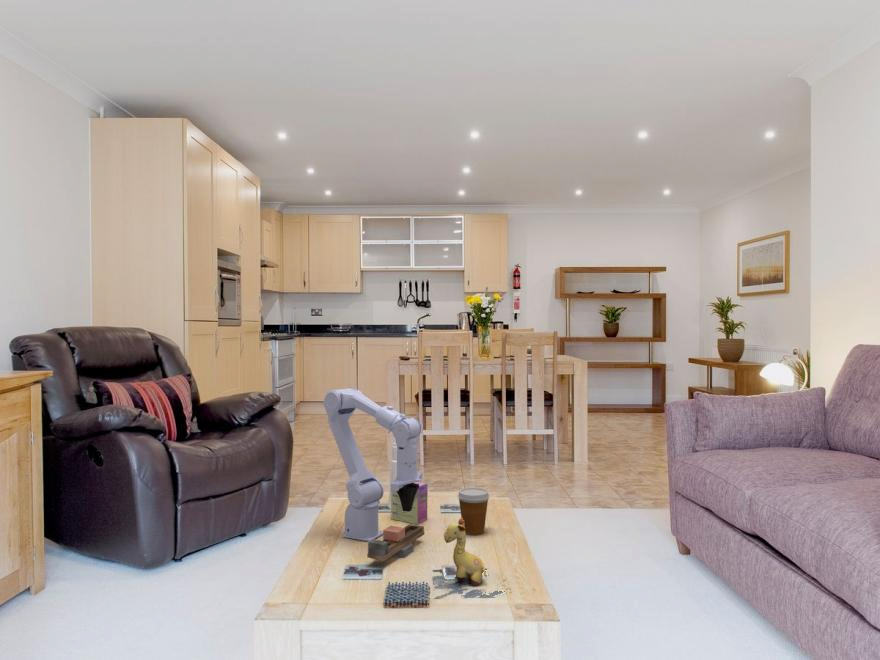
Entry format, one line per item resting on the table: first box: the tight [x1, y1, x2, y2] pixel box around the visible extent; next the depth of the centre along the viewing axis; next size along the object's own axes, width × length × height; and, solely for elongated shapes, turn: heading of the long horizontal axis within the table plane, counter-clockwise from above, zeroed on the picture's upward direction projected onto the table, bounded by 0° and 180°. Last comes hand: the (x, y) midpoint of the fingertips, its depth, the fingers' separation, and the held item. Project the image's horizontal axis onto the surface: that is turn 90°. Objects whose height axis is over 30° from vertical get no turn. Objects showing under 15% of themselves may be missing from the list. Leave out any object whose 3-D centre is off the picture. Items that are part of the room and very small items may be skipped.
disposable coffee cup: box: [457, 487, 490, 536], centre depth 180 cm, size 10×10×12 cm
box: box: [390, 481, 429, 526], centre depth 191 cm, size 10×6×12 cm, turn 58°
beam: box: [366, 523, 425, 561], centre depth 163 cm, size 7×22×6 cm, turn 154°
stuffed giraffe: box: [431, 517, 505, 599], centre depth 143 cm, size 16×18×16 cm
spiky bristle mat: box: [382, 581, 431, 609], centre depth 135 cm, size 10×11×2 cm
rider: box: [382, 525, 405, 545], centre depth 161 cm, size 4×4×4 cm
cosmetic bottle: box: [387, 442, 397, 509], centre depth 204 cm, size 6×6×22 cm
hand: (407, 510), depth 168 cm, fingers closed
